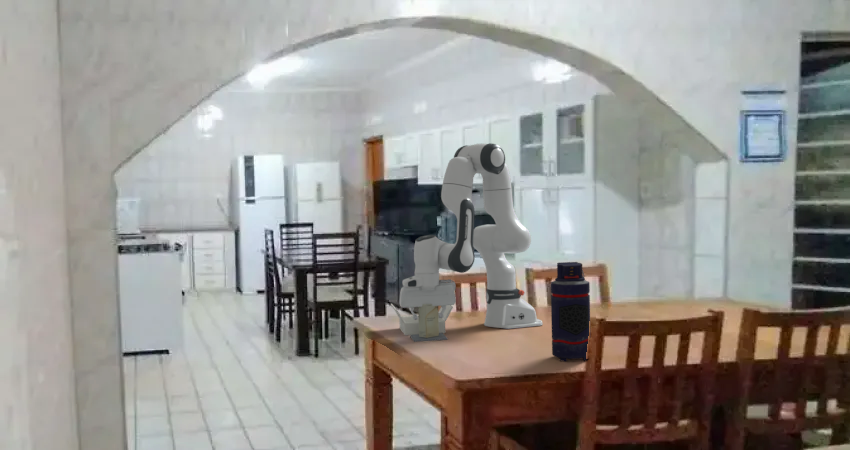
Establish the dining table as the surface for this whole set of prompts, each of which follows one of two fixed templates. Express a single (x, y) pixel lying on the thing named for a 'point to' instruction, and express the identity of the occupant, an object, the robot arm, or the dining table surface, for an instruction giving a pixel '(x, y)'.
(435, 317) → the skincare box
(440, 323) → the carton
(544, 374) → the dining table surface
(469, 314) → the dining table surface
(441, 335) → the mat
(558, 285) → the dark blue bottle
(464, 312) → the dining table surface
